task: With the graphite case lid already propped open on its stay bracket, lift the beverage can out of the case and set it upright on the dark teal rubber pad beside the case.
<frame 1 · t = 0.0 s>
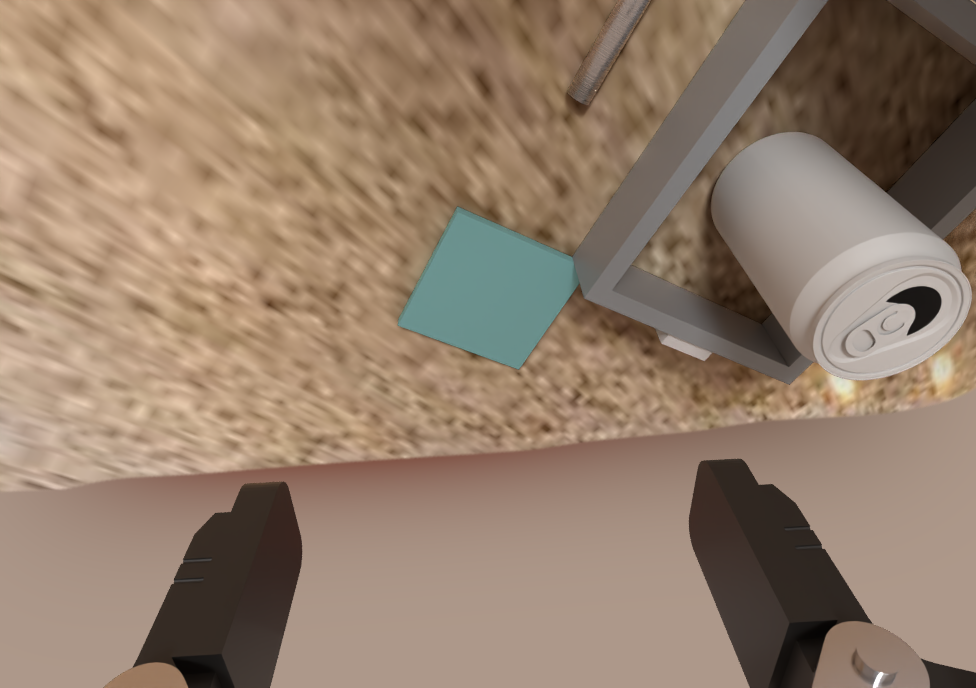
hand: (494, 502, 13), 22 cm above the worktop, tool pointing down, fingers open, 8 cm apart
case: (781, 170, 33), on the worktop
pad: (490, 292, 36), on the worktop
beverage can: (765, 185, 33), resting in case
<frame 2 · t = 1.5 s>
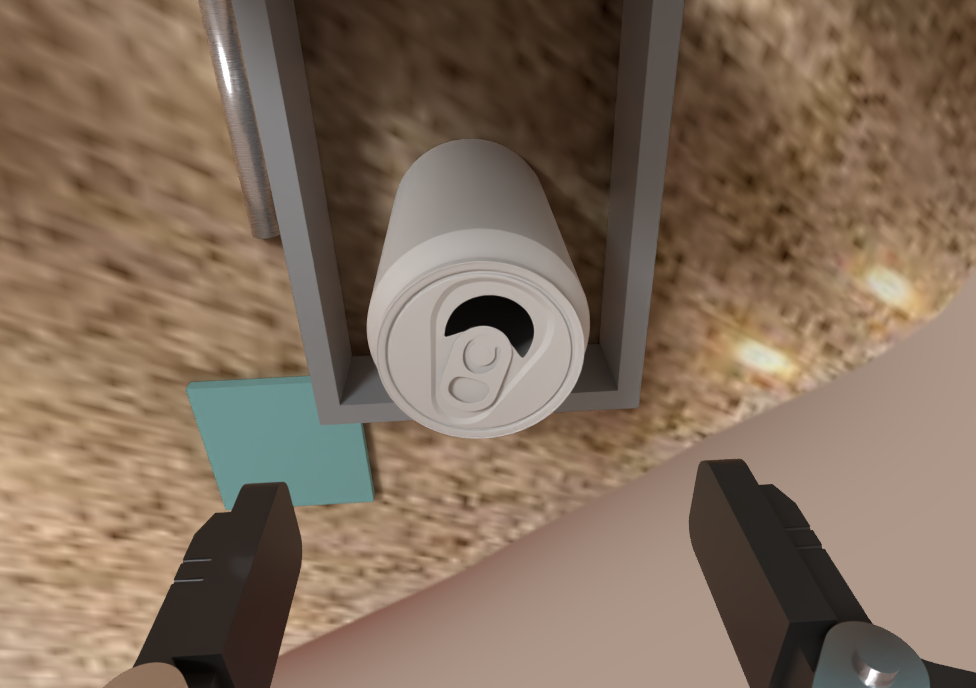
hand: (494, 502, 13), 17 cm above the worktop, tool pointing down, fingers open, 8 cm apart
case: (468, 187, 27), on the worktop
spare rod: (247, 120, 25), on the worktop
pad: (288, 441, 33), on the worktop
beverage can: (469, 208, 28), resting in case
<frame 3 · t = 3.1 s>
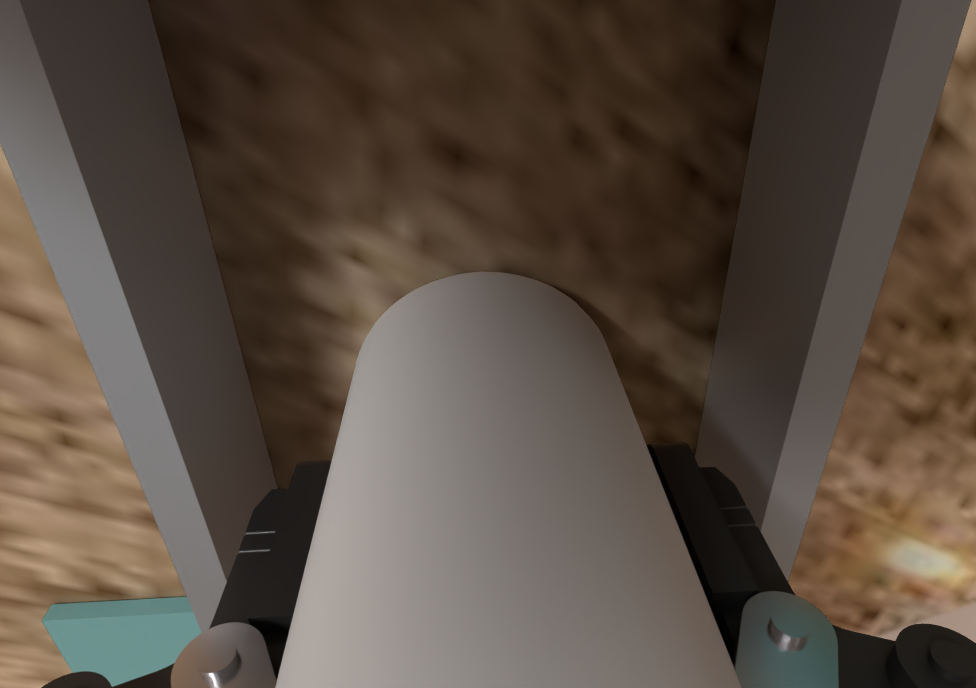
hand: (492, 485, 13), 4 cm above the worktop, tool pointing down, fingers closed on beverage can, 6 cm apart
case: (481, 339, 16), on the worktop
pad: (210, 671, 22), on the worktop
beverage can: (482, 367, 17), resting in case, touching gripper
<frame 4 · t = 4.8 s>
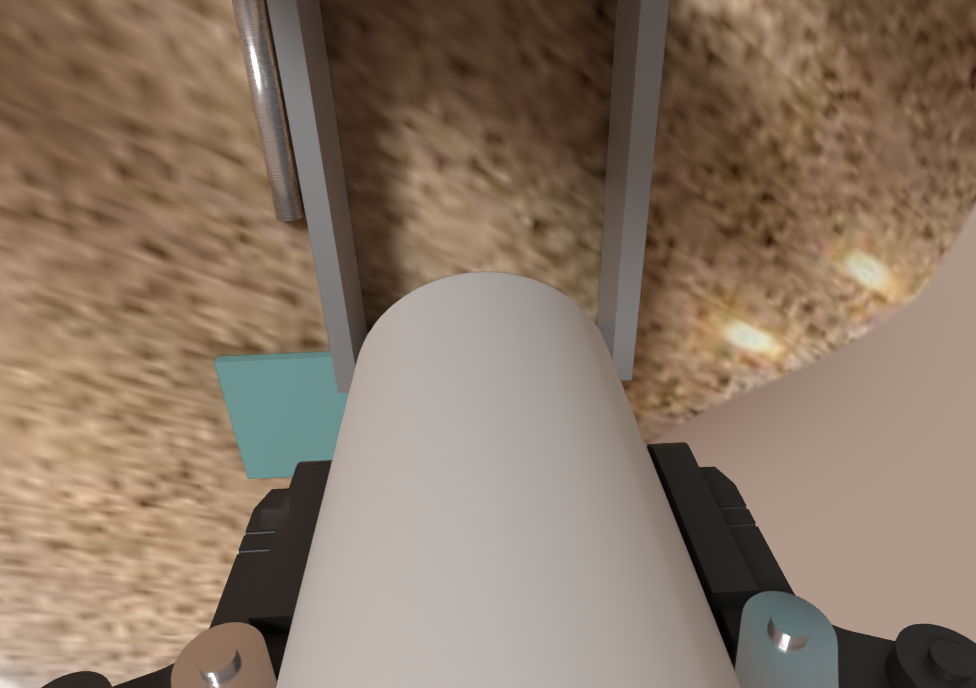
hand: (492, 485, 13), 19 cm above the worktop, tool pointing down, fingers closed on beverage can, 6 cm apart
case: (476, 175, 29), on the worktop
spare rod: (260, 115, 28), on the worktop, tilted 59°
pad: (307, 414, 36), on the worktop
beverage can: (482, 367, 17), point 15 cm above the worktop, touching gripper
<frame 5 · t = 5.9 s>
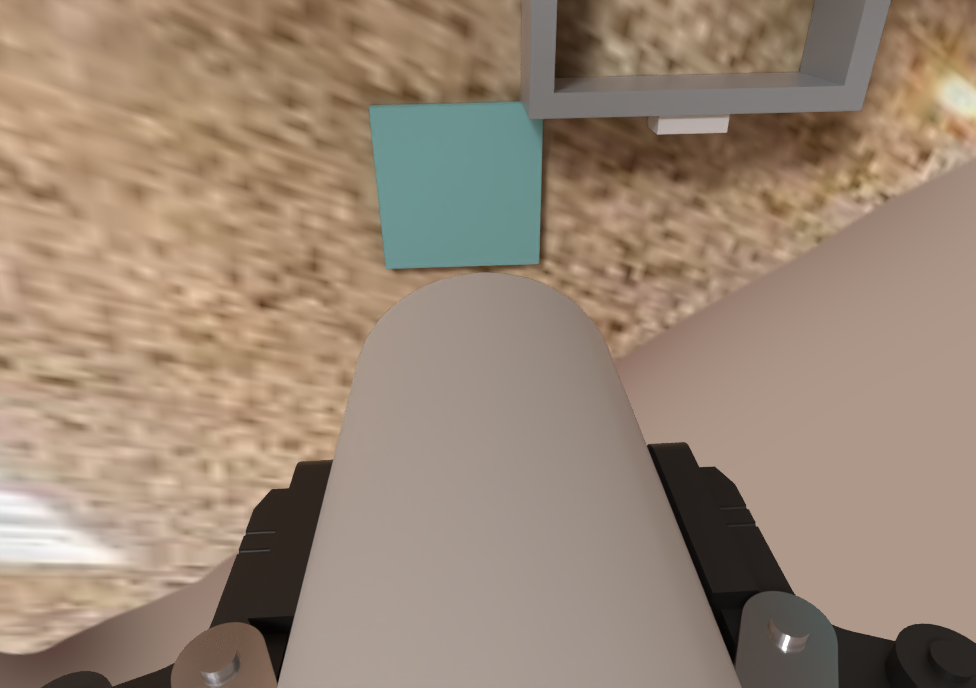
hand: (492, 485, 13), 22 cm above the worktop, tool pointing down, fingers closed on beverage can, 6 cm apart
pad: (459, 187, 32), on the worktop
beverage can: (483, 368, 17), point 17 cm above the worktop, touching gripper
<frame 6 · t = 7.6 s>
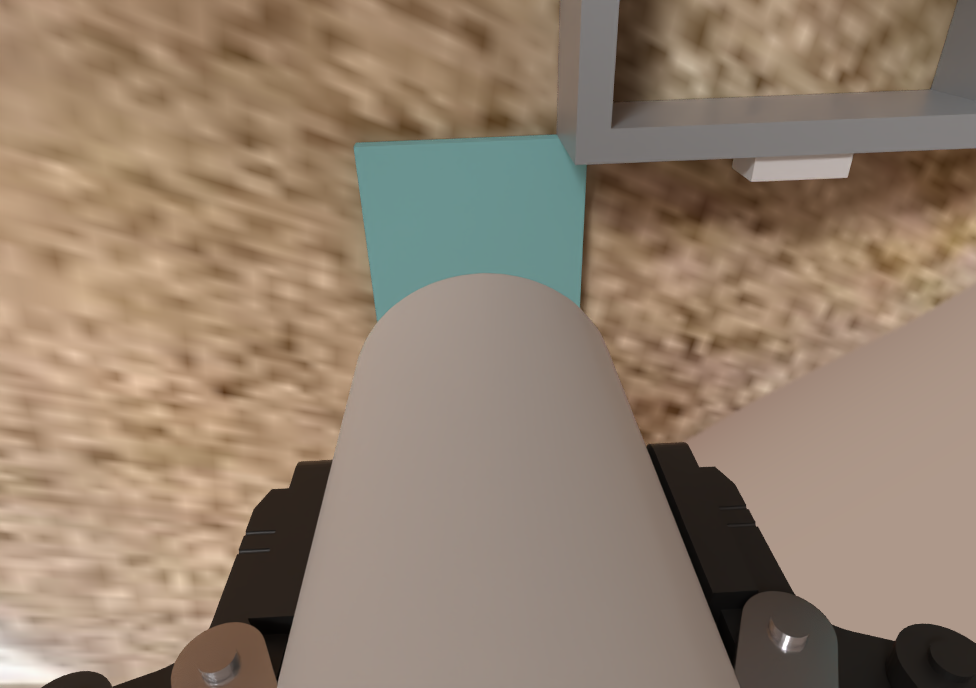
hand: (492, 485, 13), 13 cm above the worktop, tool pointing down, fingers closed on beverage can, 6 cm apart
pad: (475, 245, 24), on the worktop
beverage can: (482, 369, 17), point 9 cm above the worktop, touching gripper
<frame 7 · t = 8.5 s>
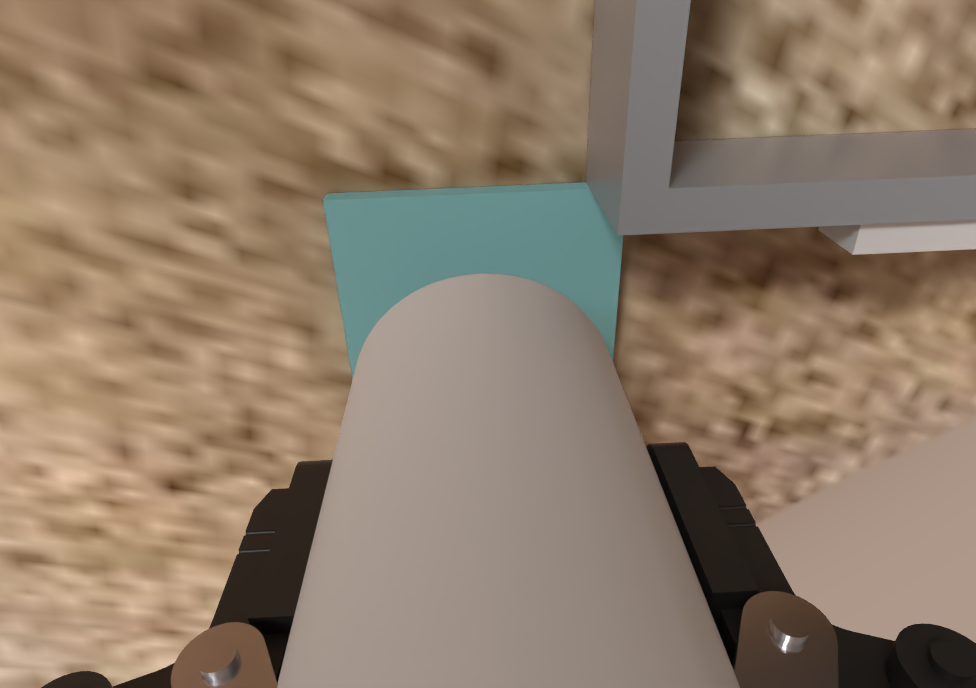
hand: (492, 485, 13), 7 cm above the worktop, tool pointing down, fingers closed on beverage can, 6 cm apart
pad: (480, 317, 19), on the worktop
beverage can: (482, 369, 17), point 3 cm above the worktop, touching gripper
when the fingers open (6 cm above the worktop, at t = 9.5 s): beverage can stays where it is, resting on pad.
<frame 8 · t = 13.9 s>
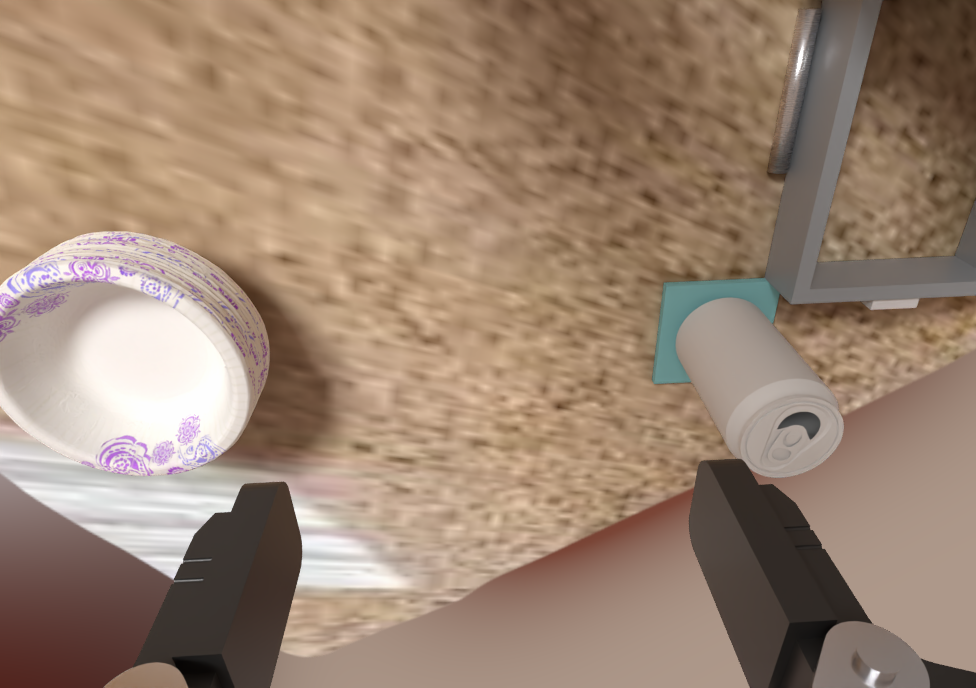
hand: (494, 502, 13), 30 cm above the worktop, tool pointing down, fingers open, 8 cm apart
case: (903, 140, 40), on the worktop
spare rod: (803, 95, 37), point 1 cm above the worktop, tilted 128°
pad: (712, 330, 46), on the worktop
beverage can: (715, 331, 46), resting on pad
paper bowls: (169, 317, 44), on the worktop
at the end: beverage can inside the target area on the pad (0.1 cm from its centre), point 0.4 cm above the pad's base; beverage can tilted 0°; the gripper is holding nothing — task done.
